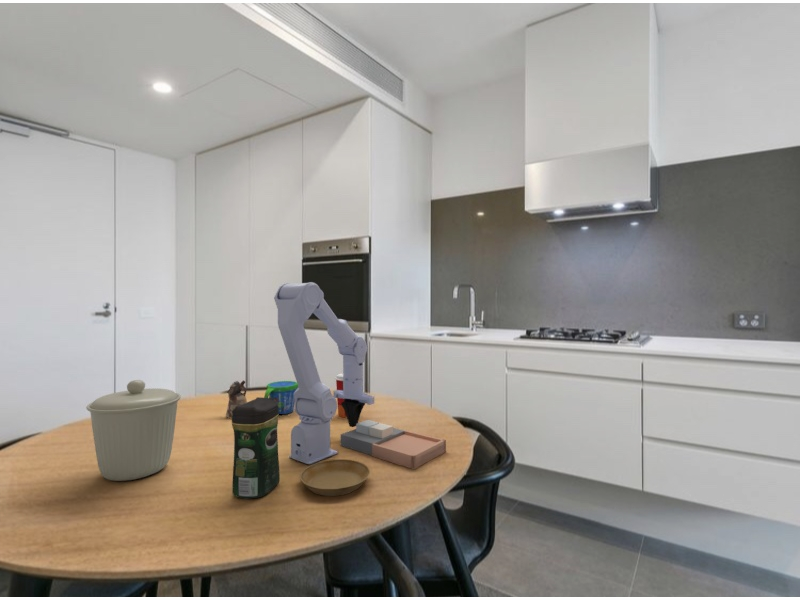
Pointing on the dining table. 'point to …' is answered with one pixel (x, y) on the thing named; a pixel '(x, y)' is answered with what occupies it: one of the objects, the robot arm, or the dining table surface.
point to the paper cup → (340, 387)
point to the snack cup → (282, 395)
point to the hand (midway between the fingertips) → (353, 425)
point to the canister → (133, 431)
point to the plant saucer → (335, 476)
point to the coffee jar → (255, 448)
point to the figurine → (235, 397)
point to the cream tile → (381, 430)
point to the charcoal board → (365, 440)
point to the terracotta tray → (410, 449)
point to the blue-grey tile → (365, 426)
